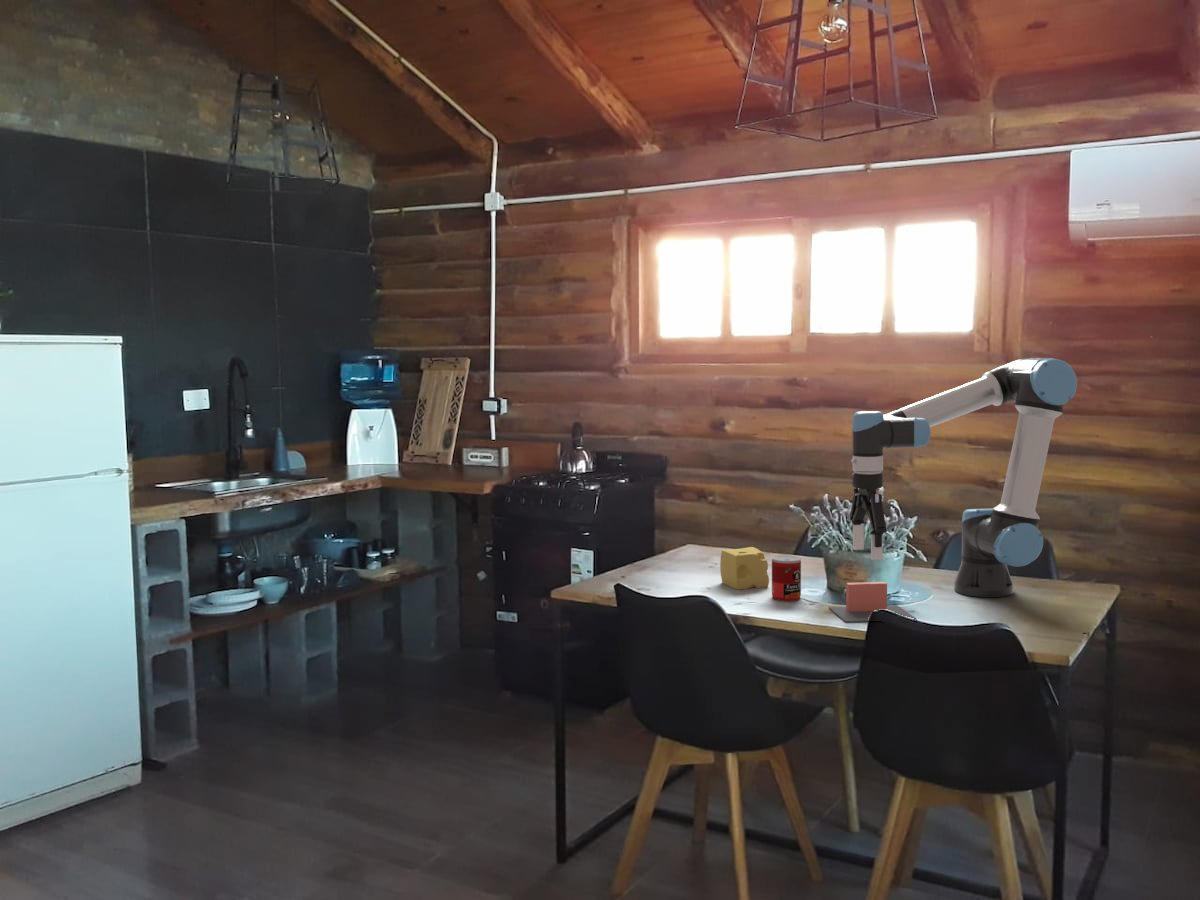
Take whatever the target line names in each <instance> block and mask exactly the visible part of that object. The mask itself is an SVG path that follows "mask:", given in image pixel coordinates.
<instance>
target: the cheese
mask: <svg viewBox="0 0 1200 900" xmlns="http://www.w3.org/2000/svg"><path fill="white" fill-rule="evenodd" d="M763 552H764V551H761V550H760V549H758V548H756V547H753V546H749V547H742V548H736V549H735V548H734V549H723V550H721V553H720V561H719V563H720V564H719V565H720V566H719V567H720V569H719V570H720V578H721V583H722V584H724V585H726V586H729V587H731V588H732V589H735V590H737V591H739V590H748V589H751V588H757V589H758V588H759V589H761V588H768V587H769V584H770V578H769V574H768V569H769V564H768V561H767V559H766V557H765V554H764V553H763Z"/></svg>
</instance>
